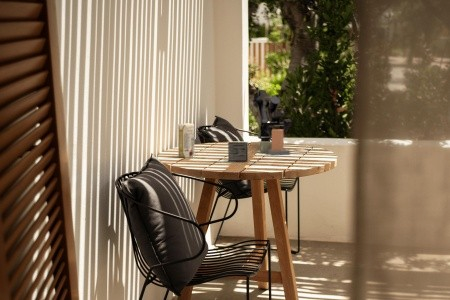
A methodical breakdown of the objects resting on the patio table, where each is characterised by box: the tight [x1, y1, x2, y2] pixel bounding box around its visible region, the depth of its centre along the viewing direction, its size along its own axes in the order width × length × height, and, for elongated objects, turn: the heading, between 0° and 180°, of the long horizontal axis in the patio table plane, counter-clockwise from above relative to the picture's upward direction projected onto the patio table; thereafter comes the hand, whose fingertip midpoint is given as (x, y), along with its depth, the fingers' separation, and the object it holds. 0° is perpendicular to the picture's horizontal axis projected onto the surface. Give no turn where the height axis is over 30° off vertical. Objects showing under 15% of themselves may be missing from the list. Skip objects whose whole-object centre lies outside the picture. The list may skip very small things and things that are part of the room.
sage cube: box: [258, 140, 272, 153], centre depth 473 cm, size 6×6×6 cm
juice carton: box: [177, 122, 195, 159], centre depth 450 cm, size 8×9×19 cm
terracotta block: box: [271, 128, 285, 151], centre depth 462 cm, size 6×6×12 cm
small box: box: [227, 141, 249, 163], centre depth 434 cm, size 11×6×10 cm, turn 84°
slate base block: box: [265, 147, 291, 156], centre depth 463 cm, size 11×11×3 cm
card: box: [291, 148, 308, 153], centre depth 477 cm, size 8×8×1 cm
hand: (278, 135), depth 461 cm, fingers open, 9 cm apart
